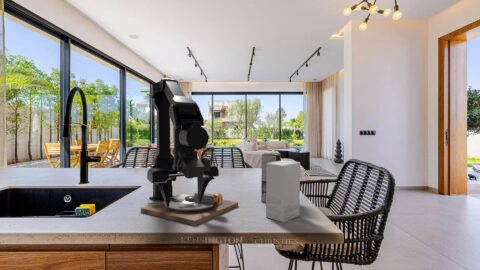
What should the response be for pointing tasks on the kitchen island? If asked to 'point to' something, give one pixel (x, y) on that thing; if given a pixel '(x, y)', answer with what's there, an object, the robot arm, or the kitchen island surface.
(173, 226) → the kitchen island surface
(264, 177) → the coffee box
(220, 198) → the handwheel
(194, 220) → the wheel base
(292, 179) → the skincare box
